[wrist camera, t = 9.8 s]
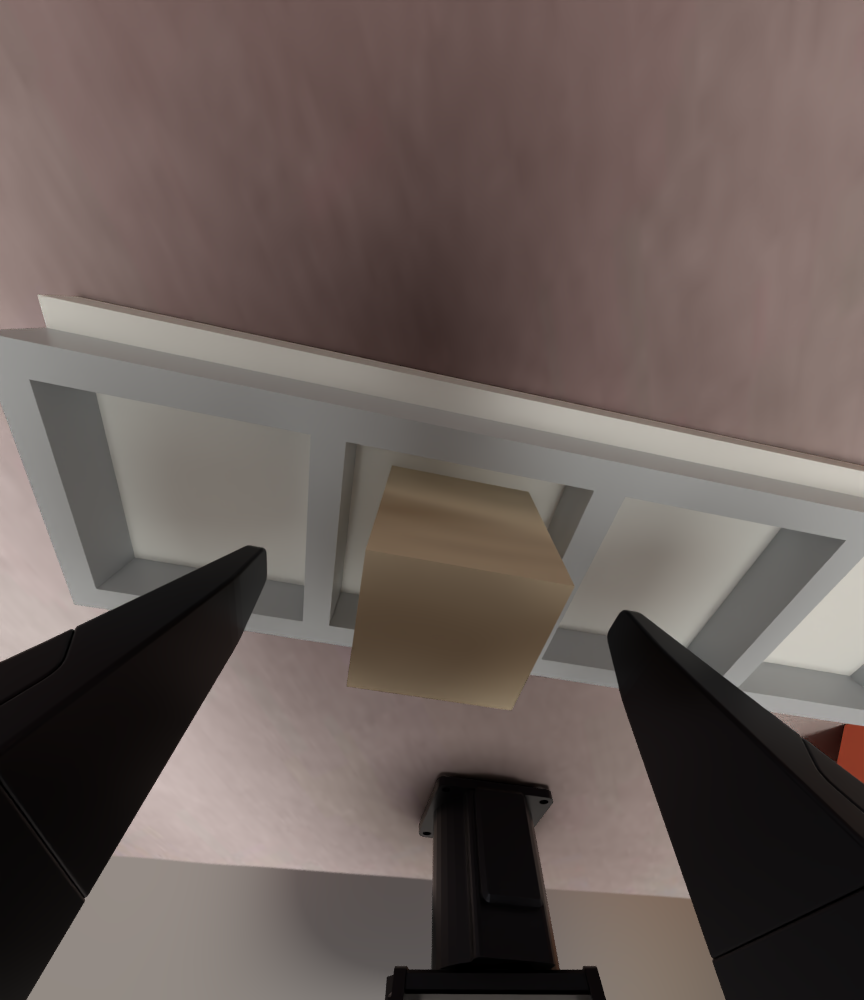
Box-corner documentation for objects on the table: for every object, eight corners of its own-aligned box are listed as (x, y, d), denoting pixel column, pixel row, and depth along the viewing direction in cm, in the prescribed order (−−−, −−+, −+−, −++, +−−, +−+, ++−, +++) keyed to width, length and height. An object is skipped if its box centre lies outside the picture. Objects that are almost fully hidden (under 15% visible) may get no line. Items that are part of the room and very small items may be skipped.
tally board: (817, 679, 15) (880, 741, 13) (140, 569, 13) (80, 621, 11) (1017, 499, 11) (1160, 545, 9) (76, 296, 9) (-41, 291, 7)
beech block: (490, 594, 12) (511, 710, 9) (374, 574, 12) (346, 686, 8) (528, 491, 10) (574, 586, 7) (392, 465, 10) (365, 549, 6)
